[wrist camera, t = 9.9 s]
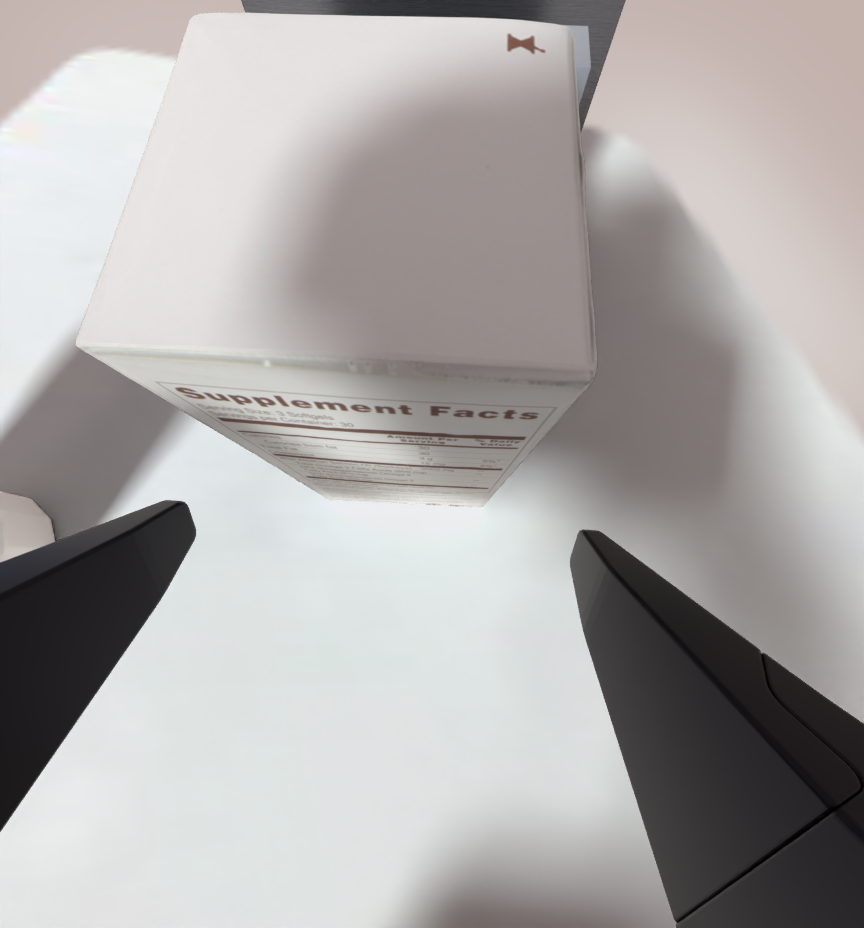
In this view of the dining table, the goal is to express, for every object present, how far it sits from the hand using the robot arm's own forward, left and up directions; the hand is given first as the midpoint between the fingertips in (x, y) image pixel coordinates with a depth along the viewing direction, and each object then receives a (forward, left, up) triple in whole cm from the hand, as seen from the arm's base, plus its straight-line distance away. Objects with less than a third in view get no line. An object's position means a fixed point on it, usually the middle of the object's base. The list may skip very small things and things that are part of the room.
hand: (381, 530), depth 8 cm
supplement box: (+5, -2, -8) cm, 10 cm away
